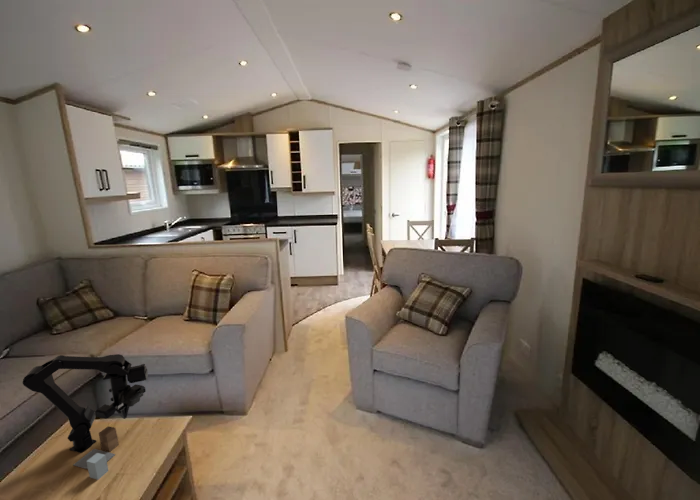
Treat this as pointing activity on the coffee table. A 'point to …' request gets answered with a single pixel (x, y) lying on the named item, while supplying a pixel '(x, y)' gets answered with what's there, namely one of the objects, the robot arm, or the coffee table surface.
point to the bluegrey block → (97, 466)
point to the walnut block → (108, 439)
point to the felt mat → (82, 461)
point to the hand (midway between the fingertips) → (124, 418)
